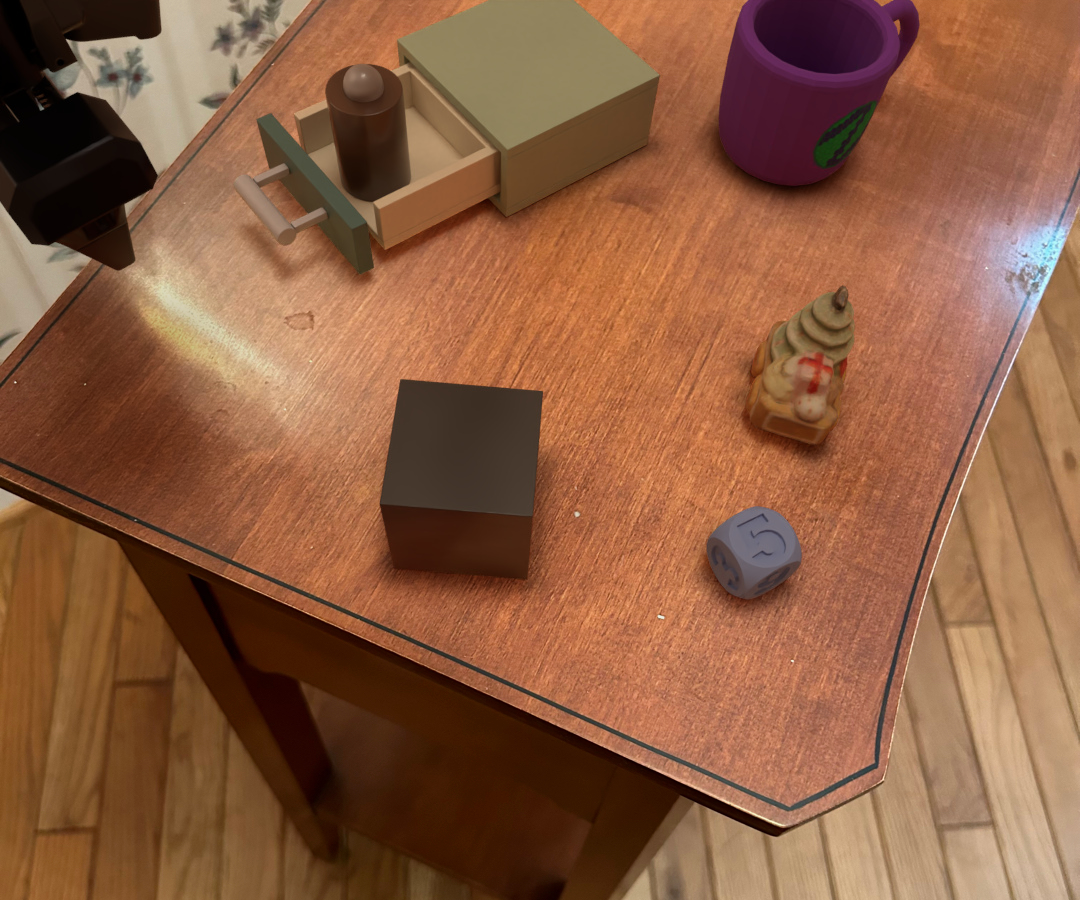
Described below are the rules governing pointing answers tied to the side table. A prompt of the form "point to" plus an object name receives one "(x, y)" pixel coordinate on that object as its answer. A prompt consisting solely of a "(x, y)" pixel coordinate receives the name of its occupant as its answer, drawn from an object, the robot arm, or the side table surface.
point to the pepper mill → (369, 130)
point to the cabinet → (539, 90)
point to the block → (462, 478)
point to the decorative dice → (753, 552)
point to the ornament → (803, 370)
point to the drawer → (432, 195)
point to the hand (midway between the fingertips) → (87, 212)
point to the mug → (808, 82)
